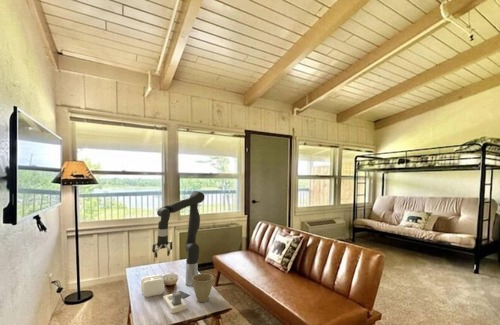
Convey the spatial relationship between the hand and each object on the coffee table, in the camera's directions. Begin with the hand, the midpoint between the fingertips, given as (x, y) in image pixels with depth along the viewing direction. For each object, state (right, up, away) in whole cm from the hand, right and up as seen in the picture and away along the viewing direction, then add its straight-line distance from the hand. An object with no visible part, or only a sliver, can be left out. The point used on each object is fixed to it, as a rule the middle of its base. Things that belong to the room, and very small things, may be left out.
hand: (162, 256), depth 190 cm
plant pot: (+31, -29, -7) cm, 43 cm away
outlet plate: (+13, -28, -15) cm, 34 cm away
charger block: (+16, -28, -18) cm, 37 cm away
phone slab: (+15, -29, 0) cm, 33 cm away
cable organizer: (-8, -28, +1) cm, 29 cm away
